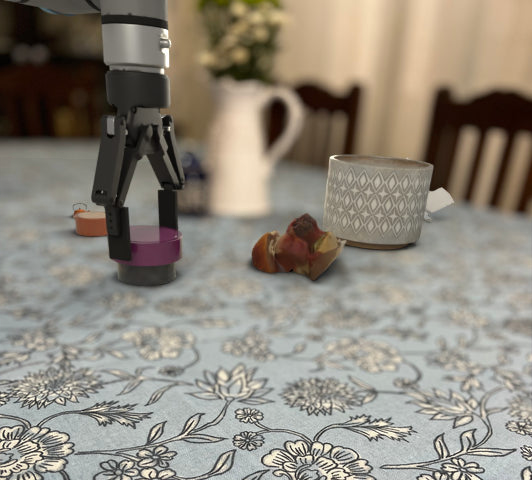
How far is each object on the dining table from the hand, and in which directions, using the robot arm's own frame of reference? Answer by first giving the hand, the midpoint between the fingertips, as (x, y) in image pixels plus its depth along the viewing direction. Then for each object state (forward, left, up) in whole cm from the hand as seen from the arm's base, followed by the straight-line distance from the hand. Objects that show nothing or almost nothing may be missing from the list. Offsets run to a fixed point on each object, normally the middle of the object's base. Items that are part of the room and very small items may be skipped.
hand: (146, 247), depth 71 cm
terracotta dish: (-20, +18, -4) cm, 27 cm away
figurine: (+33, +65, -4) cm, 73 cm away
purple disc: (0, 0, -1) cm, 1 cm away
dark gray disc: (0, 0, -4) cm, 4 cm away
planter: (+27, +39, -5) cm, 48 cm away
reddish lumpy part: (+18, +16, -4) cm, 24 cm away
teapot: (-29, +27, -5) cm, 40 cm away
